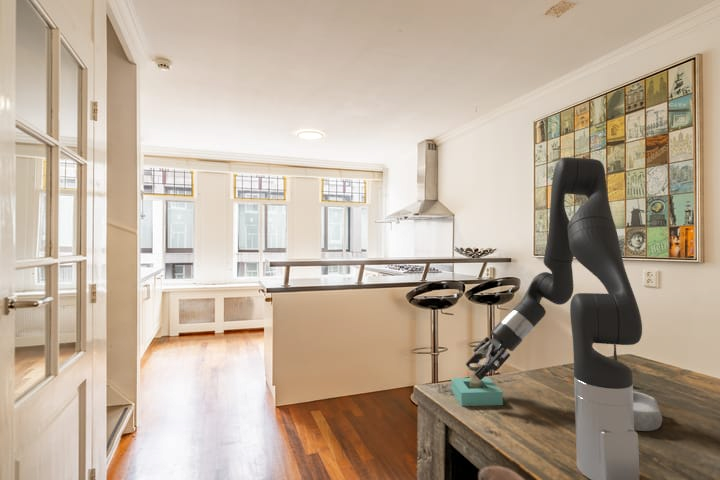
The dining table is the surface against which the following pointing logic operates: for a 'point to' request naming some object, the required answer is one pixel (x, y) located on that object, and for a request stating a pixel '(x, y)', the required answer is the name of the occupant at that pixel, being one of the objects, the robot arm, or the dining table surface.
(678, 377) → the dining table surface
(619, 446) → the robot arm
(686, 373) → the dining table surface
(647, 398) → the dish
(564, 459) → the dining table surface
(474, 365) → the tan banded cylinder
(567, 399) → the dining table surface
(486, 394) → the teal square frame
